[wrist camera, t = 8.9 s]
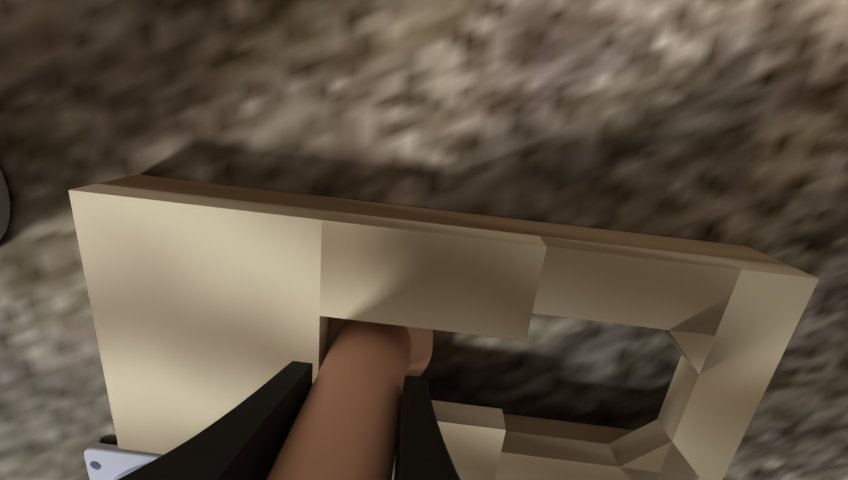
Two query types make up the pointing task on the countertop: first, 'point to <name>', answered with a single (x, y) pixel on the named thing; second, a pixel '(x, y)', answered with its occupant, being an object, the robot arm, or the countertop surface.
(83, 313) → the countertop surface
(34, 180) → the countertop surface
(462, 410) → the keyhole plate
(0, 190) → the travel mug
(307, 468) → the terracotta peg
